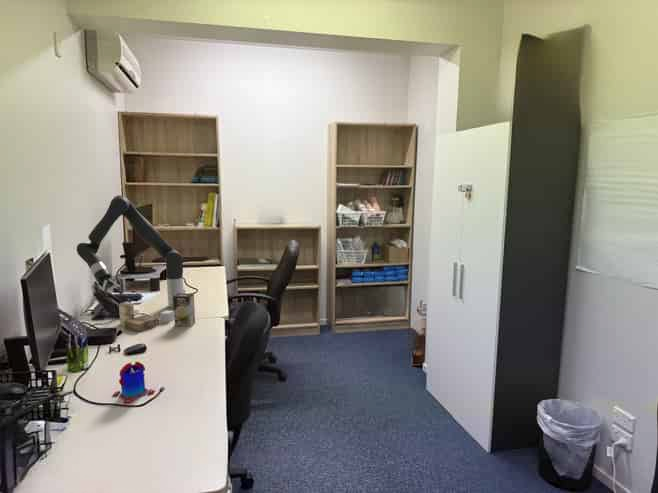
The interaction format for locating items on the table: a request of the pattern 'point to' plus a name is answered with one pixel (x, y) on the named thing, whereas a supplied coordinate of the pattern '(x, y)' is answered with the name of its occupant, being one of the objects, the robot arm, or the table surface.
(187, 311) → the coffee box
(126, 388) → the fantasy tower
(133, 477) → the table surface
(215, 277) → the table surface
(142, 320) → the walnut block
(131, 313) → the oak block
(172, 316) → the grey block
